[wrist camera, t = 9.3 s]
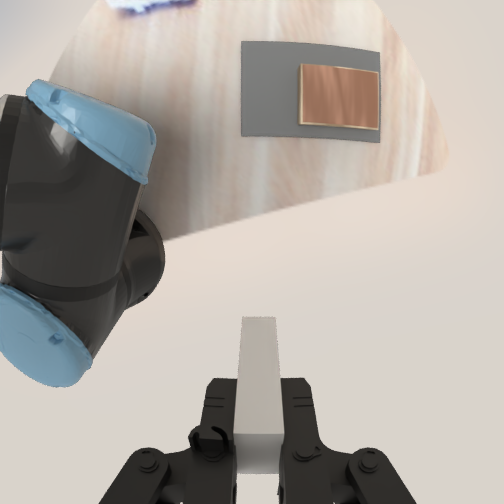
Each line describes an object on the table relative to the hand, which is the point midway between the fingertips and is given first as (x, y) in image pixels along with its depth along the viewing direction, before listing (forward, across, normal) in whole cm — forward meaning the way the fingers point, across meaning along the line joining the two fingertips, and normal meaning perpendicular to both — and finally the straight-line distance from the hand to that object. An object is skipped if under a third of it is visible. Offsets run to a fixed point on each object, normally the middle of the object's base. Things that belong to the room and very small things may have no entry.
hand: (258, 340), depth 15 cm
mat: (+26, -6, -15) cm, 31 cm away
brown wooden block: (+24, -5, -14) cm, 28 cm away
